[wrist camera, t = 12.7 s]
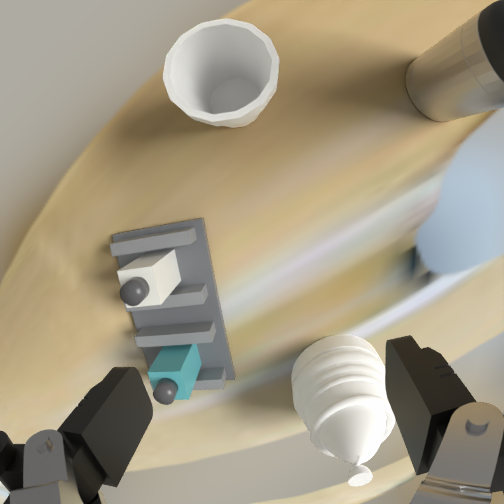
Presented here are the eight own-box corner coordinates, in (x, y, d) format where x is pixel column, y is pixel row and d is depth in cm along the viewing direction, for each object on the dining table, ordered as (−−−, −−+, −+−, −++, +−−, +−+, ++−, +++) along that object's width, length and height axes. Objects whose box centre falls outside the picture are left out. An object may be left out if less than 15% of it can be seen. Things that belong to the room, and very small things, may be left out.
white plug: (174, 248, 38) (144, 272, 29) (181, 280, 39) (154, 312, 29) (144, 253, 39) (108, 276, 29) (151, 284, 40) (119, 315, 30)
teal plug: (195, 338, 41) (175, 381, 31) (201, 363, 42) (185, 409, 32) (166, 340, 41) (141, 381, 31) (174, 365, 42) (152, 409, 32)
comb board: (203, 217, 38) (196, 222, 34) (235, 375, 43) (232, 392, 39) (115, 233, 39) (101, 239, 35) (156, 379, 44) (148, 395, 40)
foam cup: (200, 145, 36) (167, 130, 24) (192, 74, 35) (159, 32, 22) (281, 134, 36) (287, 112, 23) (271, 63, 34) (271, 12, 21)
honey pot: (372, 403, 43) (406, 490, 26) (290, 410, 44) (295, 506, 26) (384, 330, 40) (439, 413, 23) (291, 336, 41) (302, 432, 24)
